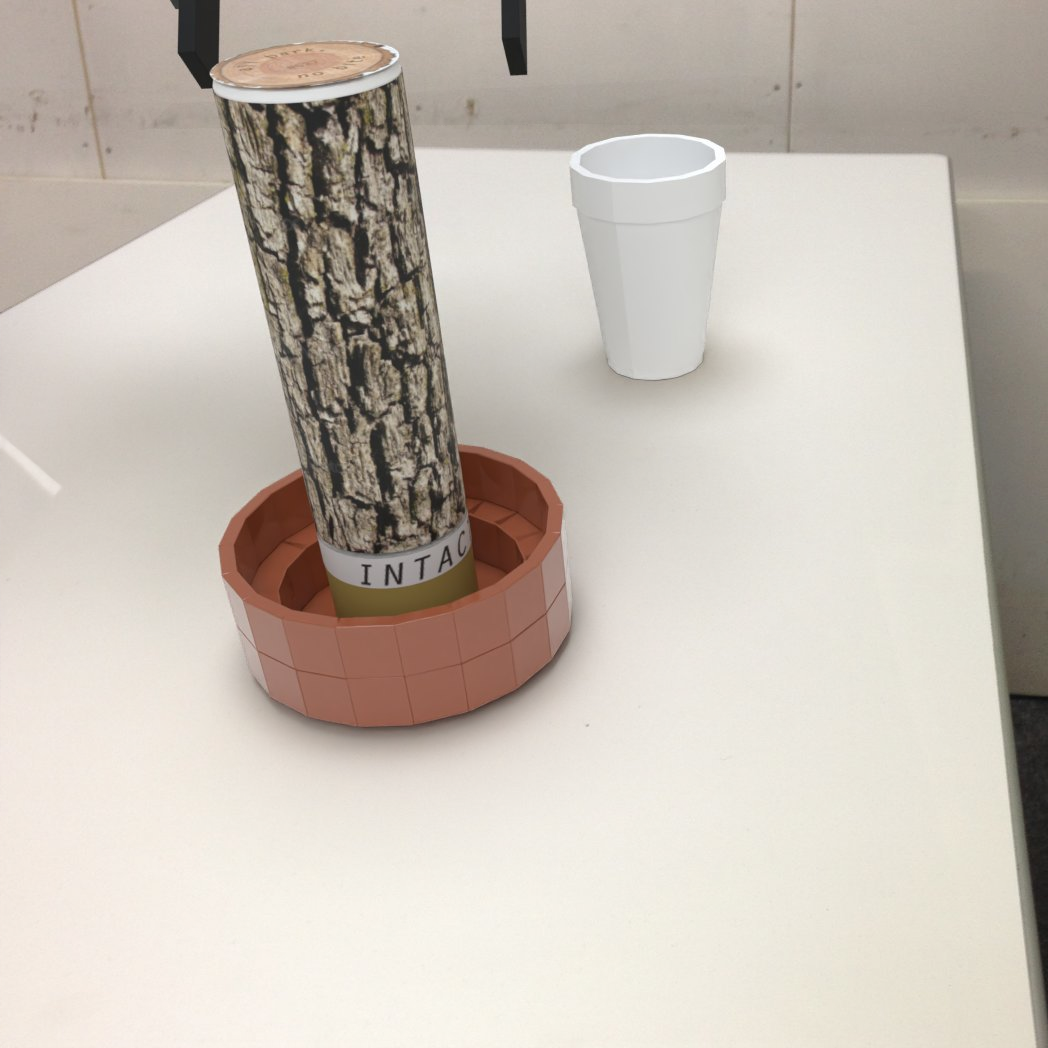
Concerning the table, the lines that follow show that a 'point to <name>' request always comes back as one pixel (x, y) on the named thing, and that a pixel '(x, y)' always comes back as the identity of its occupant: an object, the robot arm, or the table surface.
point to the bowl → (412, 638)
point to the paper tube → (352, 315)
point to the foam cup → (650, 246)
